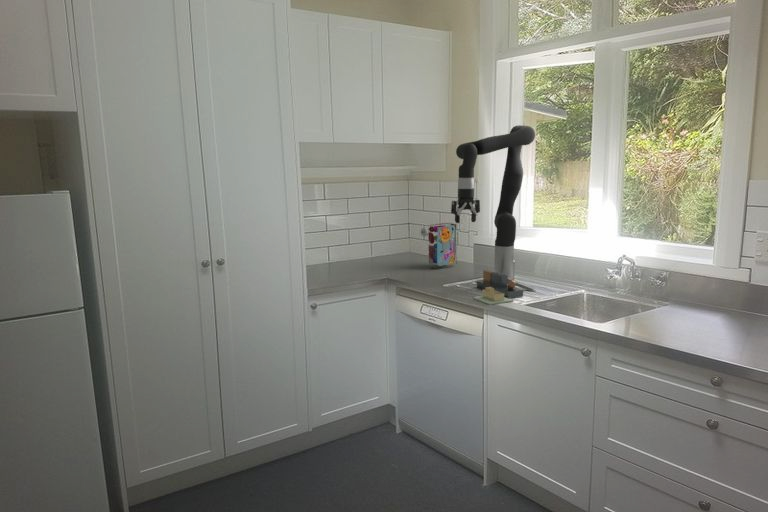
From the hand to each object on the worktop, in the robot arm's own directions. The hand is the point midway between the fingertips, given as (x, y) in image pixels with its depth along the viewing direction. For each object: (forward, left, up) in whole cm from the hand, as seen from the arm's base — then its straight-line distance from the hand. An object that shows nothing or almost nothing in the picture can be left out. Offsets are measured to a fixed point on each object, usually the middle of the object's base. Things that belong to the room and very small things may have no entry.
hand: (465, 222), depth 260 cm
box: (-9, -42, -30) cm, 53 cm away
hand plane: (-7, +18, -30) cm, 36 cm away
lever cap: (+4, +29, -30) cm, 41 cm away
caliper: (-18, +15, -31) cm, 39 cm away
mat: (+4, +29, -30) cm, 42 cm away
